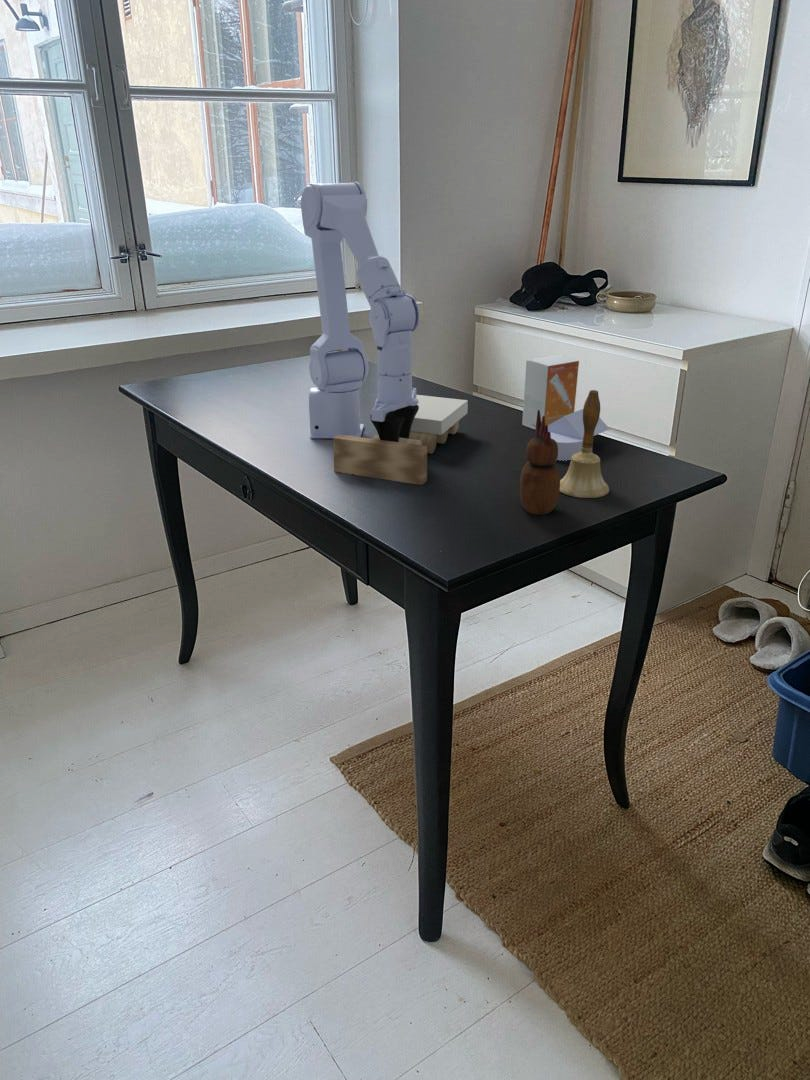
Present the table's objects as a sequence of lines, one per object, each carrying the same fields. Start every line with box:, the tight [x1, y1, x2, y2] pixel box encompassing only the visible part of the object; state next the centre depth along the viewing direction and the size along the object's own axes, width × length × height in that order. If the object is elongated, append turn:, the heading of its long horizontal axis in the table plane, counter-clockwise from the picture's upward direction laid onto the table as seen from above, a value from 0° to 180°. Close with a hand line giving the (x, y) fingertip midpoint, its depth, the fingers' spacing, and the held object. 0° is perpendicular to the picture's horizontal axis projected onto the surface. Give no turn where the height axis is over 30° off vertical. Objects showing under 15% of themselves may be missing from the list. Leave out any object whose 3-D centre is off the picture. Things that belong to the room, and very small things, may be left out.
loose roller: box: [371, 434, 422, 445], centre depth 140 cm, size 8×4×4 cm, turn 68°
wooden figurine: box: [519, 410, 561, 516], centre depth 120 cm, size 7×6×15 cm
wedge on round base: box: [548, 408, 610, 462], centre depth 146 cm, size 9×7×13 cm
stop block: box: [332, 434, 428, 486], centre depth 135 cm, size 16×2×6 cm, turn 67°
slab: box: [410, 394, 469, 435], centre depth 150 cm, size 12×14×2 cm
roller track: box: [409, 420, 460, 454], centre depth 148 cm, size 8×25×4 cm, turn 157°
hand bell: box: [559, 389, 610, 499], centre depth 127 cm, size 8×8×16 cm
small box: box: [521, 354, 580, 430], centre depth 158 cm, size 8×6×13 cm
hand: (395, 450), depth 140 cm, fingers closed on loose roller, 4 cm apart
